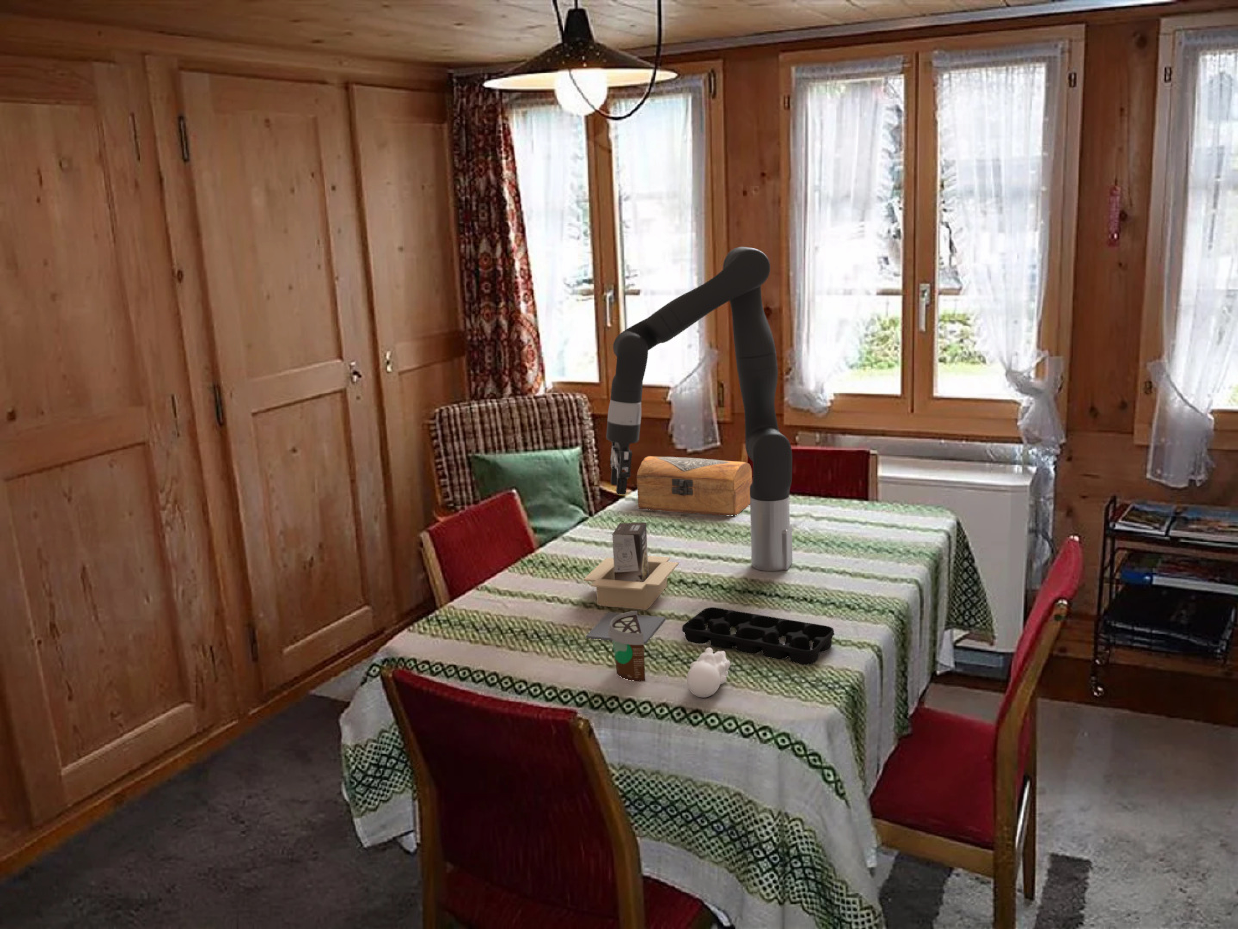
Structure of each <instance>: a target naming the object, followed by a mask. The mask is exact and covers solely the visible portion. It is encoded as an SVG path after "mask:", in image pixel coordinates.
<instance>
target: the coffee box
mask: <svg viewBox="0 0 1238 929" xmlns="http://www.w3.org/2000/svg"><path fill="white" fill-rule="evenodd" d="M611 535H612V554H613V556H612V557H613V558H614V575H615V580H620V581H633V582H644V581H645V580H646V579H647V578H648V577H649V570H648V556H649V554H648V536H647V535H648V534H647V522H619V523H618V524H617V527H616V528H615V529H614V531H613V533H612V534H611Z"/></svg>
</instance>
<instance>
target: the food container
mask: <svg viewBox="0 0 1238 929" xmlns="http://www.w3.org/2000/svg"><path fill="white" fill-rule="evenodd" d="M637 615H638V610H632V611H627V612H624V613H623V612H622V613H621V614H620V615H618V616H616V617H614V618H613V619H612V620H611V623H610V625H609V630H608V635H609V637H610V638H611V639H612V641H611V642H612V648H613V655H614V663H615V670H616V675H617V674H618V675H619V676H621V677H622V678H621V677H620V678H621V679H623V678H625V679H628V680H627V681H629V680H631V682H646V668H645V667H646V666H645V665H646V664H645V644H644V637H643V633H641V630H640V625H639V622H638V619H637ZM618 675H617V676H618ZM619 676H618V677H619ZM625 679H624V680H625ZM632 680H634V681H632Z"/></svg>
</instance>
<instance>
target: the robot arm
mask: <svg viewBox="0 0 1238 929" xmlns="http://www.w3.org/2000/svg"><path fill="white" fill-rule="evenodd" d="M770 272H771V263H770V259H769V258H768V256H767V255H766V254H765V253H764V252H763V251H761V250H760V249H757V248H753V247H747V246H739V247H735V248H733V249H732V250H730V251H729V252H728V253H727V254H726V256H725V258H724V261H723V264H722V270H721V271H720V272H719V273H717V274H716V275H715V276H713V277H712V278H711V279H709V280H708V281H706V282H704V283H702V284H701V285H699V286H697V287H695V288H693V289H691V290H690V291H687V292H686V293H683V294H681V295H680V296H678V297H676V298H674V299H673V300H671V301H669V302H668V303H666V304H665V305H663V306H662V307H660V308H659V309H658V310H656V311H654V313H652V314H651V315H650V316H648V317H647V318H645V319H643V320H641V321H639V322H637V323H635V324H633V325H631V326H630V327H629V326H628V327H627V328H626V329H624V330H623V331H622V332H621V333H619V334H618V335H617V336H616V338H614V341H613V344H612V346H613V347H612V348H613V349H612V350H613V354H614V355H615V356H616V364H615V375H614V376H613V378H612V381H611V388H610V401H609V405H608V411H607V422H606V423H607V424H606V436H605V438H606V440H608V441H609V442H611V448H610V450H611V451H610V459H609V463H610V468H611V474H610V475H611V476H610V484H611V485H612V486H616V489H615V490H616V491H615V492H616V494H617V495H626V494H627V487H628V480H629V478H631V477H632V476H631V475H632V474H631V471H632V470H631V468H632V457H633V451H632V449H631V450H630V444H636V443H638V442H639V441H640V433H641V432H640V431H641V422H642V397H643V388H644V387H643V383H644V376H645V374H646V369H647V363H648V357H649V351H650V350H652V349H653V348H654V347H656V346H657V345H659V344H664V343H668V342H669V341H671V340H672V339H673V338H675V337H677V336H678V335H680V334H681V333H683V332H684V331H685V330H687V329H688V328H689V327H691V326H692V325H694V324H695V323H697V322H698V321H699V320H701V319H702V318H704V317H705V316H707V315H709V314H710V313H711V312H713V311H715V310H716V309H718V308H719V307H721V306H723V305H725V304H726V303H728V302H730V303H729V305H730V308H731V316H732V332H733V343H734V344H733V345H734V354H735V355H734V356H735V361H736V362H735V363H736V370H737V376H738V382H739V388H740V389H739V390H740V394H741V399H742V403H743V411H744V443H745V452H746V454H747V456H748V458H749V459H750V460H751V461H752V464H753V465H752V466H753V468H752V476H753V477H752V484H751V485H750V505H749V506H750V507H749V508H750V509H749V510H750V513H749V515H750V546H751V548H750V549H751V551H750V552H751V553H750V554H751V566H752V567H753V568H754V569H756V570H759V571H764V572H765V571H766V572H767V571H768V572H777V571H783V570H784V571H788V570H789V569H790V567H791V564H793V526H792V524H791V523H790V519H791V518H790V517H791V516H790V489H791V486H792V479H793V451H792V450H793V448H792V446H791V443H790V441H789V438H787V437H786V436H785V435H784V434H782V433H781V432H780V430H779V425H778V420H777V414H776V409H775V405H776V404H775V401H776V400H775V399H776V390H777V384H778V378H779V377H778V374H779V370H778V369H779V368H778V367H779V366H778V358H777V351H776V346H775V345H776V344H775V340H774V336H773V333H772V330H771V328H770V324H769V322H768V319H767V316H766V314H765V310H764V305H763V301H762V299H763V298H762V285H764V283H765V282H766V281H767V280H768V278H769V276H770ZM623 470H624V471H623Z"/></svg>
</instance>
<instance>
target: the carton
mask: <svg viewBox="0 0 1238 929" xmlns="http://www.w3.org/2000/svg"><path fill="white" fill-rule="evenodd" d="M670 559H671V557H669V556H655V555H654V556H653V555H648V570H649V577H648V578H647V579H646V580H645V581H644V582H633V581H620V580H615V575H614V557H605V558H604V560H603V561H601V562H600V563H599V564H598V565H597V566H595V568H593V569H592V570H591V571H590V572H589V573H588V574H587V575H586V576H585V577H584V578H583V581H584V582H592V583H591V584H590V587H592V588H596V599H597V604H596V605H597V606H598V605H600V607H610V608H611V607H612V608H621V607H625V608H624V609H633V610H634V609H636V610H646V611H647V610H648V609H649V608H650V607H651V606H652V605H653V604H654V602H655V601H657V599H658V598H659V597H660V595H661V594H662V593H663V592H664V591H665V590H666V589H667V587H668V577H669V576H670V575H671V574H672V573H673V571H674V570H676V568H677V567H678V566H679V562H676V561H675V562H674V561H670ZM664 589H665V590H664ZM601 605H602V606H601Z"/></svg>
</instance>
